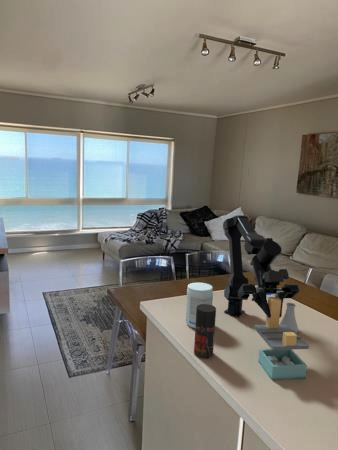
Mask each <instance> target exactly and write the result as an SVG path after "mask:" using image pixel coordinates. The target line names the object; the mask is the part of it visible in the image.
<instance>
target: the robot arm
mask: <svg viewBox="0 0 338 450" xmlns="http://www.w3.org/2000/svg"><path fill="white" fill-rule="evenodd" d="M222 229H223V231H224V236H225V237H226V238H227V239H228V243H229V247H228V249H229V258H230V259H229V260H230V277H229V278H228V280H227V285H226V287H225V289H224V291H223V296H224V298H225V299H226V300H227V301H228V302H227V308H226V309H225V310H224V311H223V312H224V314H228V315H232V316H235V317H238V318H239V317H240V316H242V315H243V314H244V313H245V312H246V311H245V310H243V301H244V300H245V301H248V299H249V297H250V295H252V298H251V301H252V302H255V304H256V305H257V306H258V307H259V308H260V309H261V310H262V312H263V313H264V314H265V315H266V316H268V318H270V317H271V313H270V309H269V306H268V300H267V299H268V298H267V295H273V297H278V298H279V299H280V300H281V308H280V318H282V314H283V304H284V300H285V299H294V298H295V296H297V295H298V294H299V293H300V292H301V290H300V287H299V285H298V284H296V283H285V284H284V285H283V286H282V287H279V286H280V285H281V283H284V282H285V280H288V279H289V278H290V276H289V271H288V269H287V268H282V269H279V270H278V271H277V270H274V269H272V266H271V265H272V264H273V263H274V262H275V261H276V259H278V257H279V256H280V255H281V254H282V246H281V245H280V244H279V243H278V242H277V241H274V239H273V238H272V237H271V238H270V237H266V238H265V236H263V235H261V234H259V233H257V231H256V230H255V229H254V226H253V225H252V224H251V222H250V220H249V217H248V216H247V215H245V214H244V215H243V214H242V215H241V214H240V215H238V214H236V215H234V216H233V217H230V218H226V220H224V221H223V223H222ZM242 238H243V239H244V245H243V248H244V250H245V252H246V254H247V255H249V256H250V255H251V256H253V257H252V258H251V260H250V266H252V268H253V272H254V277H253V280H254V281H255V282H256V284H257V287H256V285H255V284H254V283H249V279H248V277H245V275H244V270H243V269H244V268H243V255H242V254H243V253H242V243H241V239H242Z"/></svg>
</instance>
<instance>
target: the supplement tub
mask: <svg viewBox="0 0 338 450" xmlns="http://www.w3.org/2000/svg"><path fill="white" fill-rule="evenodd" d="M213 299H214V287H213V285H211V284H209V283H206V282H191V283H188V285H187V289H186V304H185V305H186V309H185V310H186V311H185V323H186V324H187V326H188V327H190V328H193V329H195V325H196V309H197V306H198V305H200V304H208V305H212V306H213Z"/></svg>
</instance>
